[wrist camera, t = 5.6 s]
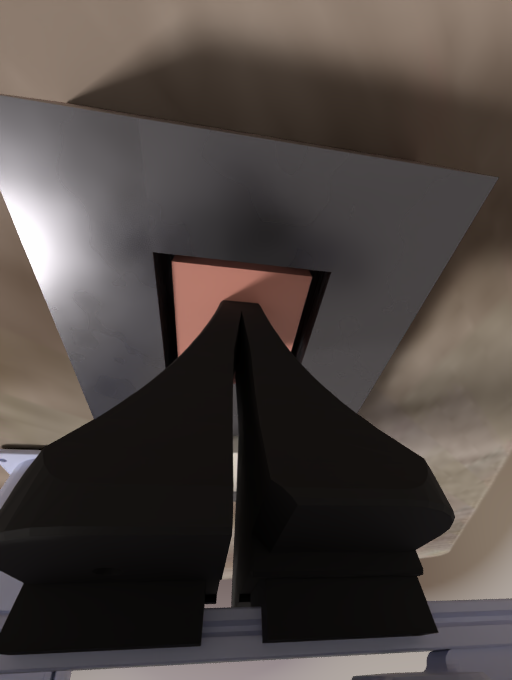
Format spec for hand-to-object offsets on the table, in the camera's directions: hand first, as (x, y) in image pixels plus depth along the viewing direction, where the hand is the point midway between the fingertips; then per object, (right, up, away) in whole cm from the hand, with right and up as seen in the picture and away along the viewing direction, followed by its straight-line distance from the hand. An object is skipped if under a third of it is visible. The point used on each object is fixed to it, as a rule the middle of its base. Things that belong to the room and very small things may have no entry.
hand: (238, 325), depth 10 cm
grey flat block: (-1, -1, +6) cm, 6 cm away
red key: (0, +2, +2) cm, 3 cm away
